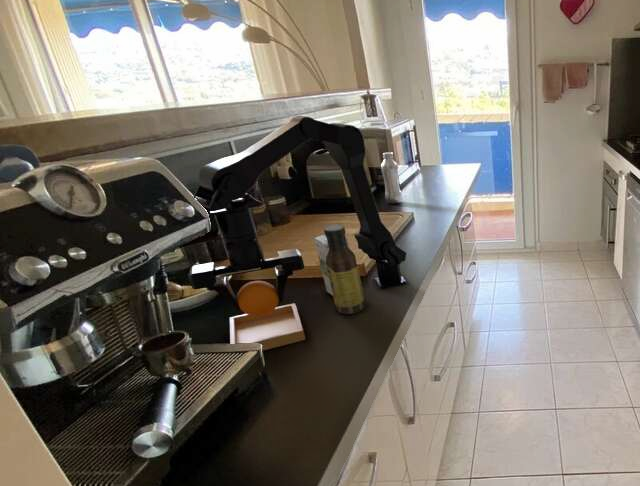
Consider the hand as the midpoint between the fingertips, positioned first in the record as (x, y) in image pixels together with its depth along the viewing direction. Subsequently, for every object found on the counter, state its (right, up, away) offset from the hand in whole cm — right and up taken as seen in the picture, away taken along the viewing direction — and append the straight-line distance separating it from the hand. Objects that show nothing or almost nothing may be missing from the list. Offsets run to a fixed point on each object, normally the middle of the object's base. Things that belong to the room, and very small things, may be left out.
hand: (260, 306), depth 90 cm
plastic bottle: (-2, +39, +94) cm, 101 cm away
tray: (0, -6, +3) cm, 6 cm away
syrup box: (+8, +2, +20) cm, 22 cm away
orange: (0, +2, -1) cm, 2 cm away
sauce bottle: (+13, -1, +13) cm, 18 cm away
